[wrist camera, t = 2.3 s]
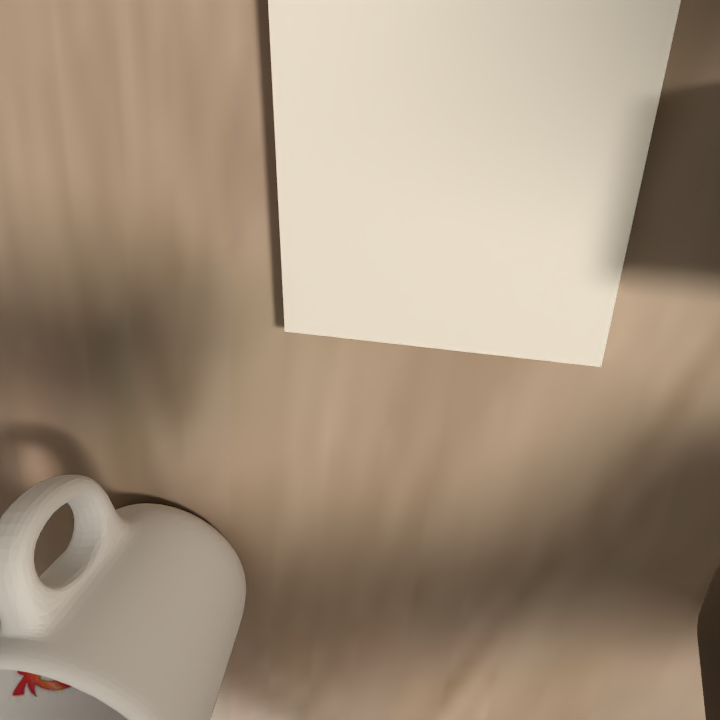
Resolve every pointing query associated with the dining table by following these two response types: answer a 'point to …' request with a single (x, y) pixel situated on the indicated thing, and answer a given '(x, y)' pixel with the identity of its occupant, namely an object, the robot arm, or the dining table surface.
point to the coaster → (462, 167)
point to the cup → (114, 610)
